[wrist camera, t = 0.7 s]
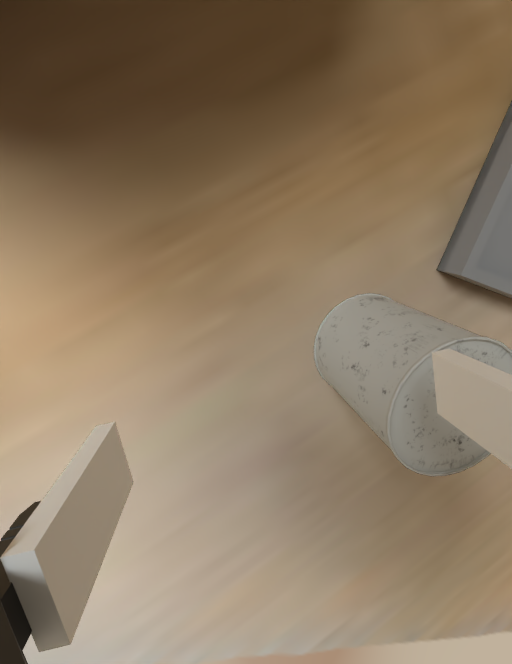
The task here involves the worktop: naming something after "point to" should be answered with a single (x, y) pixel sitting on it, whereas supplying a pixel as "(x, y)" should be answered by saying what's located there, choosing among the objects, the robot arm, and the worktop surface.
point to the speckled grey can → (401, 377)
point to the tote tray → (486, 222)
